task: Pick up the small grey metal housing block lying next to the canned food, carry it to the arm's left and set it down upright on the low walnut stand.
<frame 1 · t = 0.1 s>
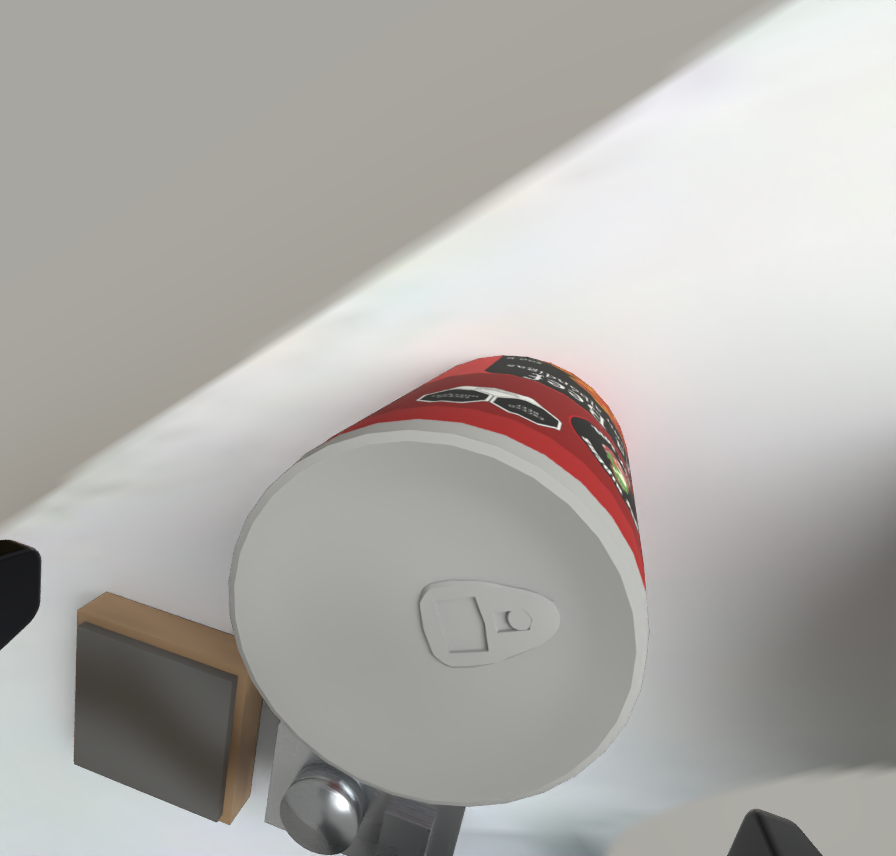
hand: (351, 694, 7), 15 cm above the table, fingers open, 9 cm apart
stand: (179, 695, 28), on the table
housing: (396, 730, 25), on the table
canned food: (509, 459, 22), on the table
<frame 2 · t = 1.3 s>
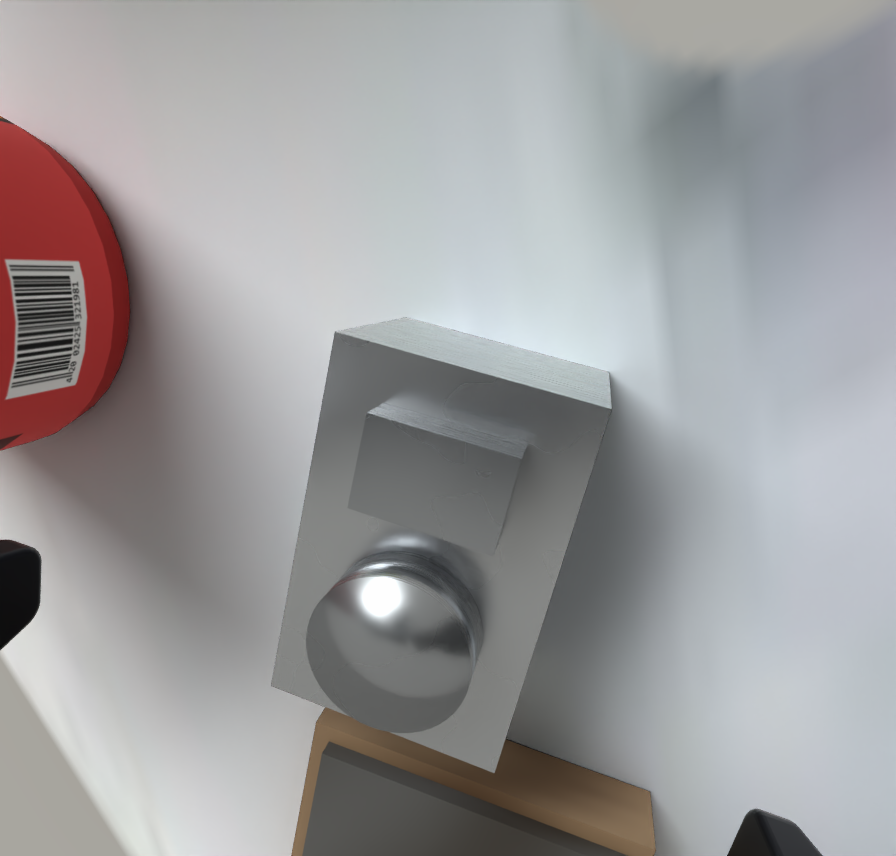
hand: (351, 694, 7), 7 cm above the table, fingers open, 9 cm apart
stand: (455, 852, 17), on the table
housing: (467, 489, 14), on the table
canned food: (19, 283, 16), on the table
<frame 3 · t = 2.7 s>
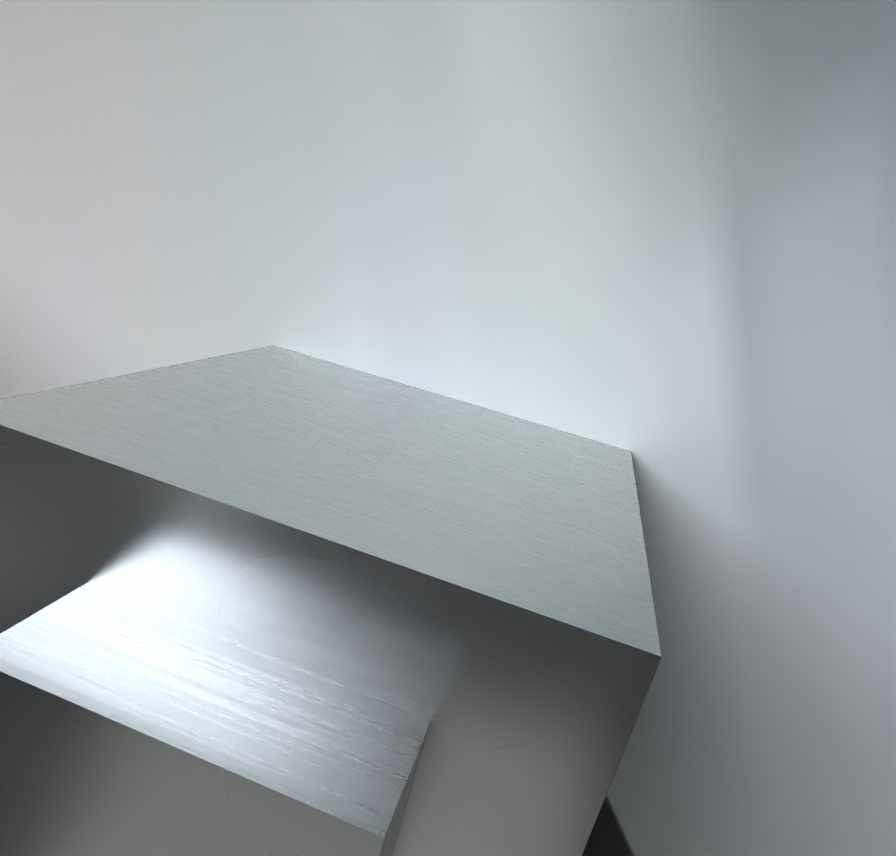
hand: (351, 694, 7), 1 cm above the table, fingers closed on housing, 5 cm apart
housing: (383, 640, 8), on the table, touching gripper
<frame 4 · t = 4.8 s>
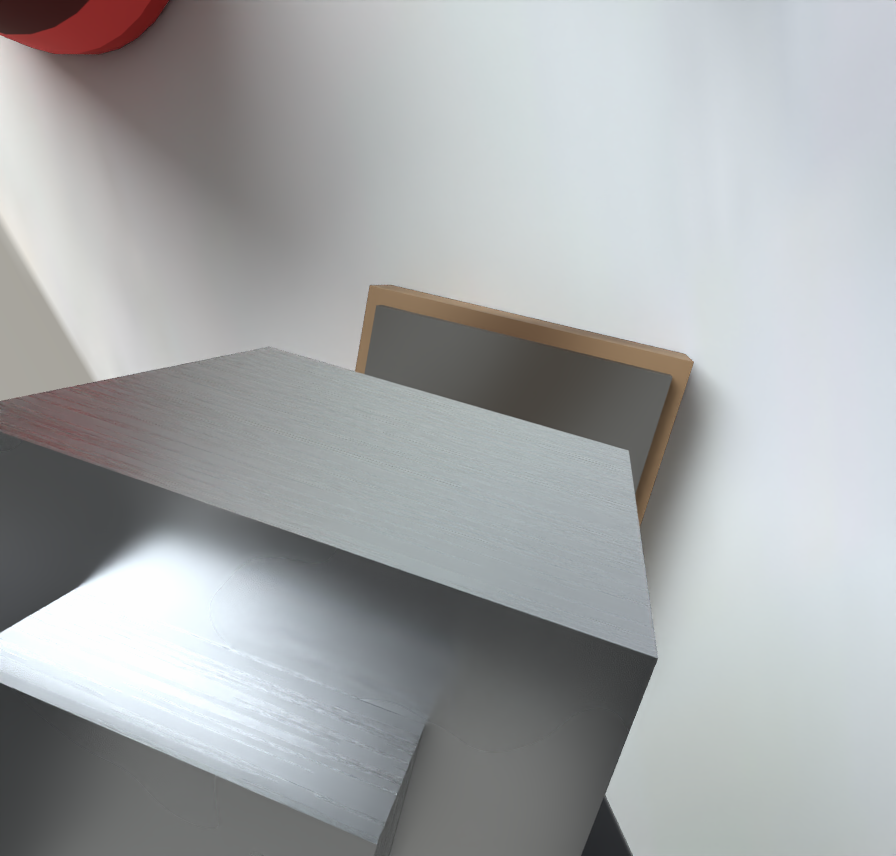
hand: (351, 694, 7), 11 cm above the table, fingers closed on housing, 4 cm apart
stand: (497, 457, 17), on the table
housing: (381, 642, 8), point 10 cm above the table, touching gripper
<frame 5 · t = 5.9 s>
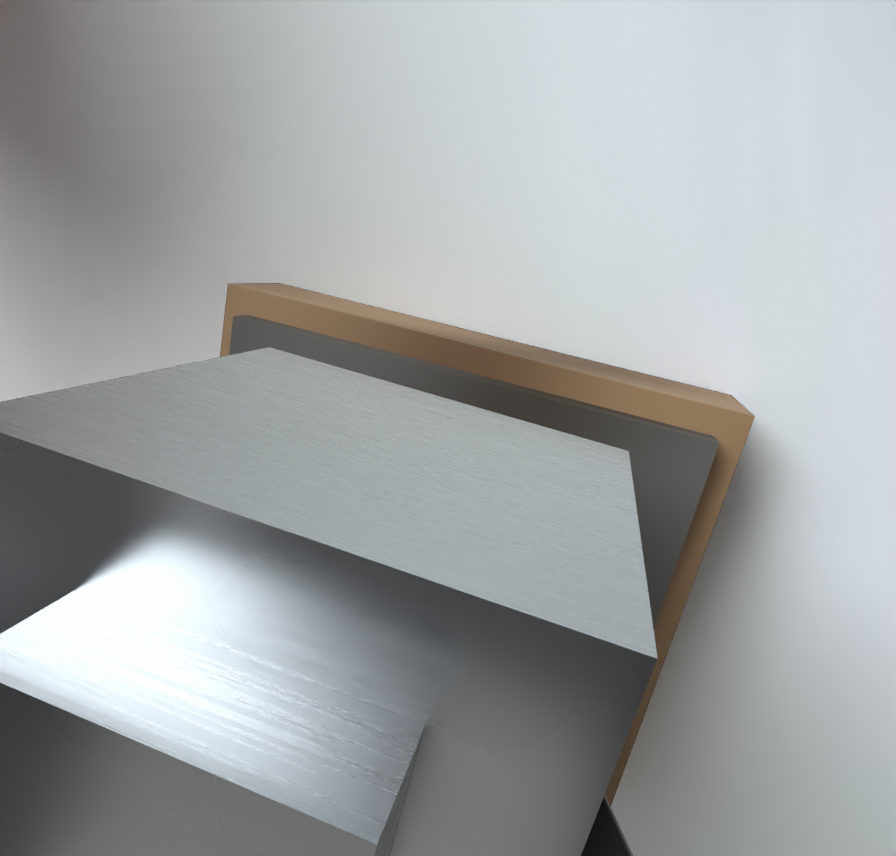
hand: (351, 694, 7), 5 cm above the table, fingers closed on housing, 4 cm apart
stand: (441, 543, 12), on the table
housing: (381, 643, 8), point 3 cm above the table, touching gripper
when the fingers open (4 cm above the table, at t = 6.6 s): housing drops 1 cm, resting on stand.
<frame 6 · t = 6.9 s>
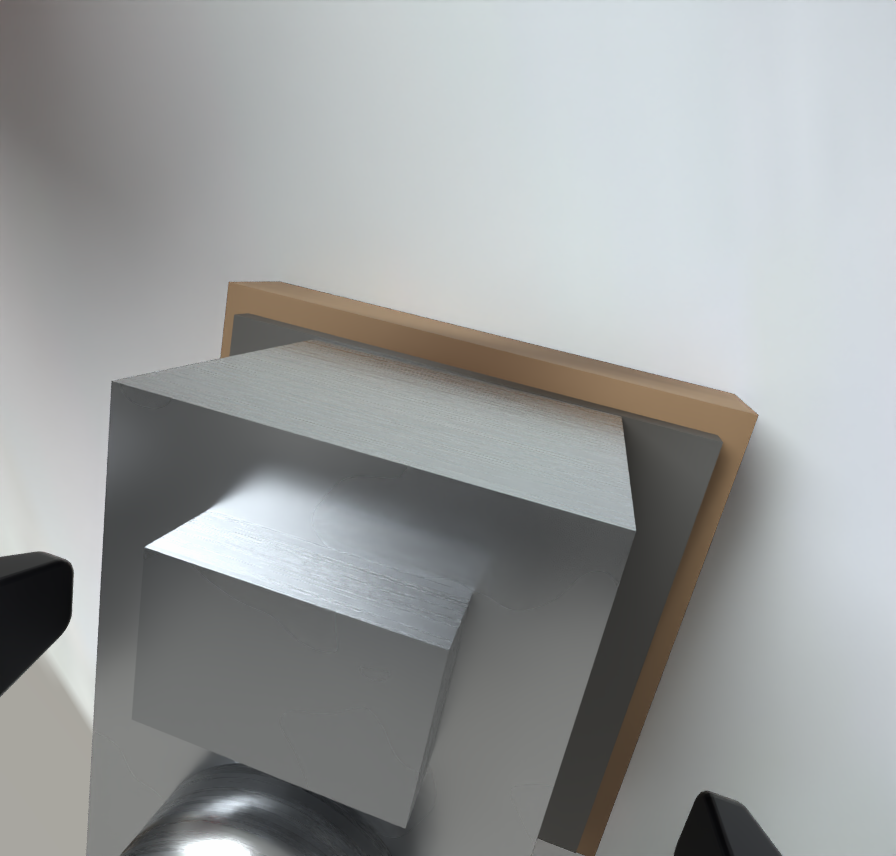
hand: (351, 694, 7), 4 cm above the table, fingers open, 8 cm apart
stand: (442, 542, 12), on the table
housing: (415, 590, 10), point 2 cm above the table, touching stand
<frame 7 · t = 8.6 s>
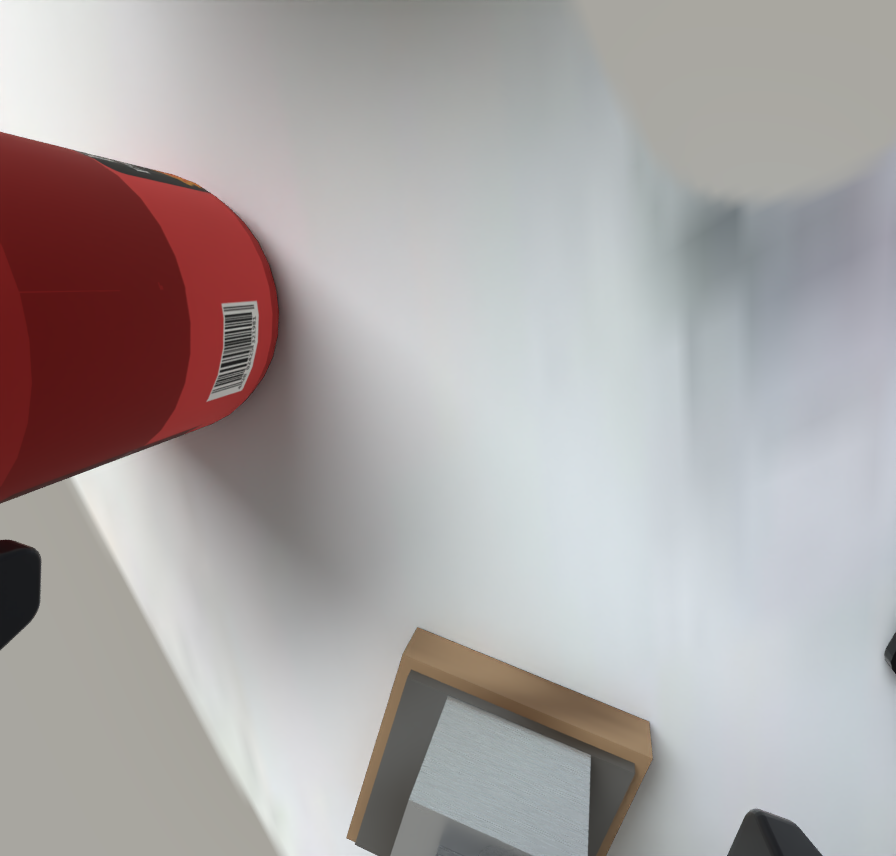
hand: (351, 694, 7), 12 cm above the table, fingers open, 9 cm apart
stand: (494, 765, 21), on the table
housing: (485, 810, 20), point 2 cm above the table, touching stand
canned food: (186, 305, 21), on the table
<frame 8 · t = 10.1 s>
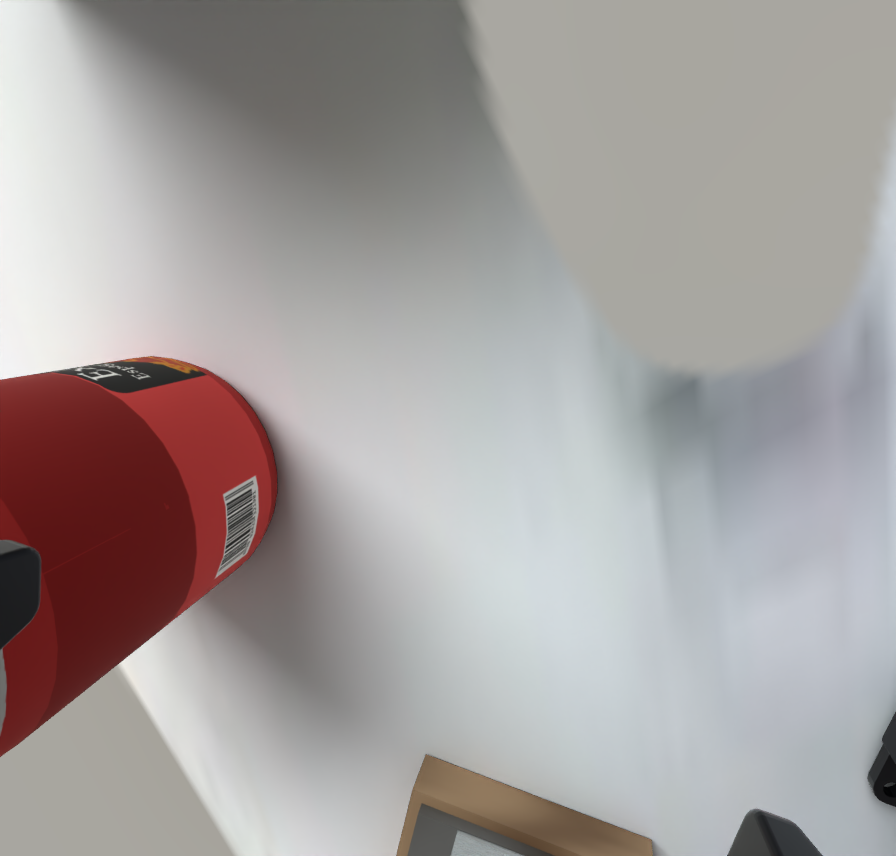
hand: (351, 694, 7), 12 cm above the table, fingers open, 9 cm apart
canned food: (190, 464, 22), on the table
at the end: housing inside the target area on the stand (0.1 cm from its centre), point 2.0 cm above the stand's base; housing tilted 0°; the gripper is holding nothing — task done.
